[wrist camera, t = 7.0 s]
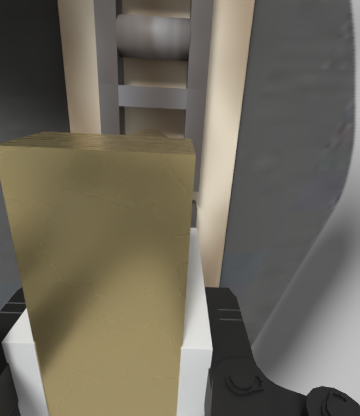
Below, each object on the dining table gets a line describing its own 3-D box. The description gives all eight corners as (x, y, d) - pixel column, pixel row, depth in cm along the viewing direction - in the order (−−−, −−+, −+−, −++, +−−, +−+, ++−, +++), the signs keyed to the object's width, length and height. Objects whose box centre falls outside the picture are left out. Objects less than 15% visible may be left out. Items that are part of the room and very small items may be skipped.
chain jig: (95, 329, 29) (84, 360, 25) (59, -75, 17) (28, -119, 13) (210, 332, 29) (214, 364, 26) (257, -61, 17) (277, -101, 13)
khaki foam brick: (120, 311, 18) (67, 505, 9) (111, 113, 13) (-7, 144, 5) (174, 313, 18) (170, 507, 9) (185, 117, 13) (195, 154, 5)
